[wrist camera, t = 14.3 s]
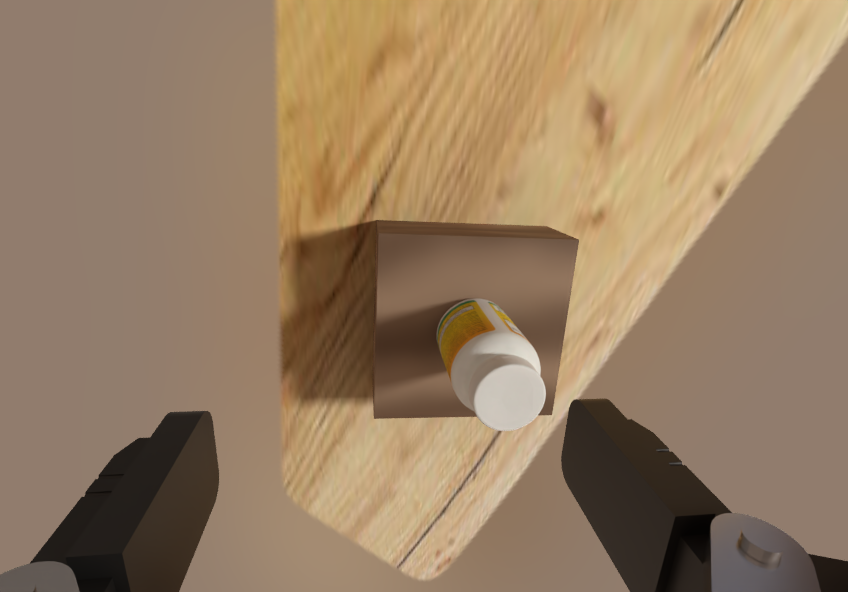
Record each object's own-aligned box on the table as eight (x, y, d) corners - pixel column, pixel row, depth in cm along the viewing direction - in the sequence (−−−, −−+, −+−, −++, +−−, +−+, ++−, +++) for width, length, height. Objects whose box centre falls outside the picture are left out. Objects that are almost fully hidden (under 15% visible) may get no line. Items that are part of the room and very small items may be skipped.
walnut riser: (376, 220, 36) (378, 233, 30) (546, 226, 38) (578, 239, 32) (372, 380, 40) (373, 418, 35) (526, 379, 42) (551, 415, 36)
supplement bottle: (514, 301, 33) (571, 357, 24) (499, 368, 35) (547, 445, 26) (441, 292, 32) (471, 348, 23) (429, 361, 34) (453, 439, 25)
